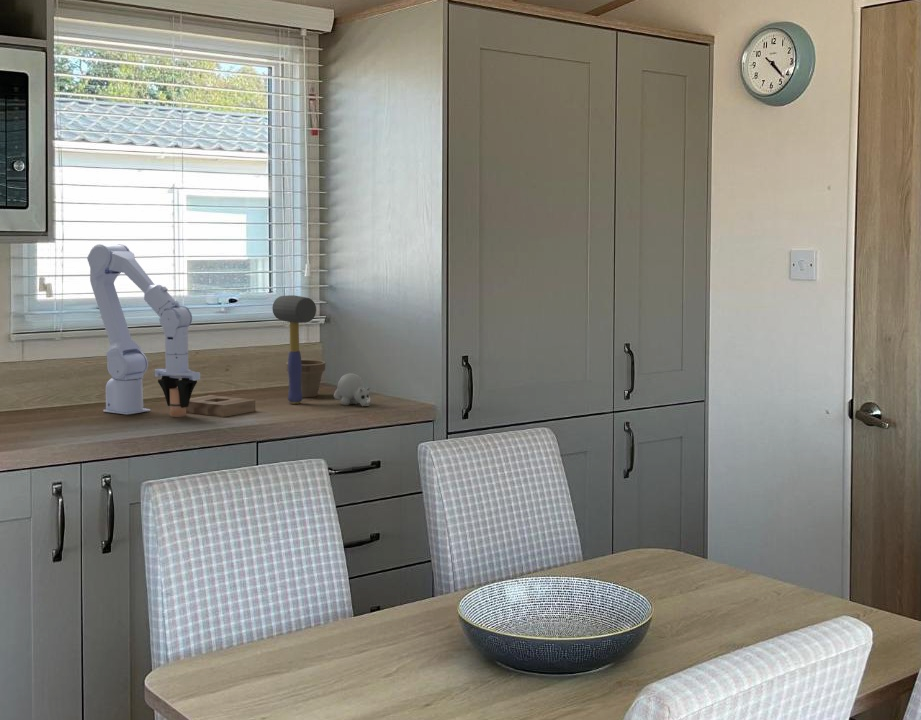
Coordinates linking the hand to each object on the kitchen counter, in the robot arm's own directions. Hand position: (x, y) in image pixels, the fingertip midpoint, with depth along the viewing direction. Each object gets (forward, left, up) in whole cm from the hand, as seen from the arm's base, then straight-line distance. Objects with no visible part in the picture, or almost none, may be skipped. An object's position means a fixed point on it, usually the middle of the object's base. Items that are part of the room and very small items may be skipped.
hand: (178, 406), depth 291 cm
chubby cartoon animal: (+26, +40, -3) cm, 48 cm away
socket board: (+3, +11, -2) cm, 12 cm away
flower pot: (+4, +46, -3) cm, 46 cm away
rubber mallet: (+11, +33, -3) cm, 35 cm away
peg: (0, 0, -2) cm, 2 cm away
